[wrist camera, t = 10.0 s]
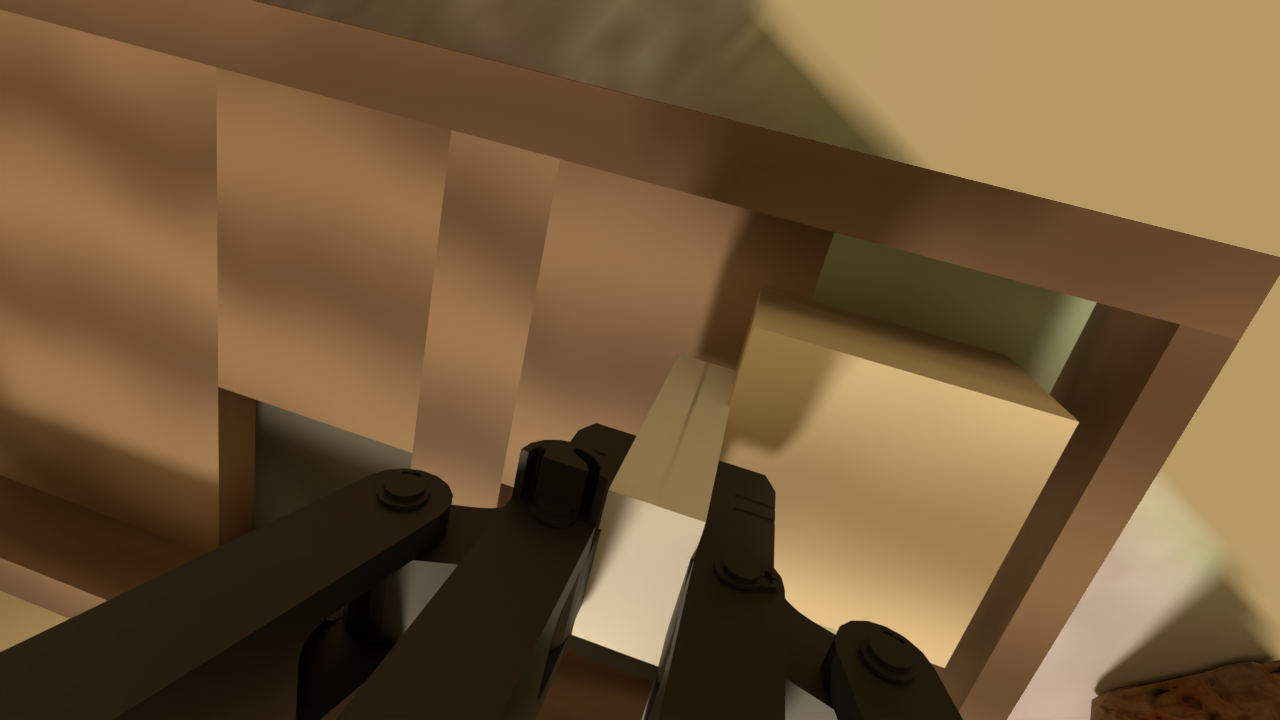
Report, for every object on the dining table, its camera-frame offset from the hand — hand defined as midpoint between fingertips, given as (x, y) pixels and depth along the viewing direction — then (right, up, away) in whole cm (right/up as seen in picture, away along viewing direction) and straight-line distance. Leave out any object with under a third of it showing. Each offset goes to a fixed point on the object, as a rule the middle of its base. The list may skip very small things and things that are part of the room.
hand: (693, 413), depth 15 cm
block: (+4, 0, +1) cm, 4 cm away
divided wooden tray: (-9, +1, +6) cm, 10 cm away
